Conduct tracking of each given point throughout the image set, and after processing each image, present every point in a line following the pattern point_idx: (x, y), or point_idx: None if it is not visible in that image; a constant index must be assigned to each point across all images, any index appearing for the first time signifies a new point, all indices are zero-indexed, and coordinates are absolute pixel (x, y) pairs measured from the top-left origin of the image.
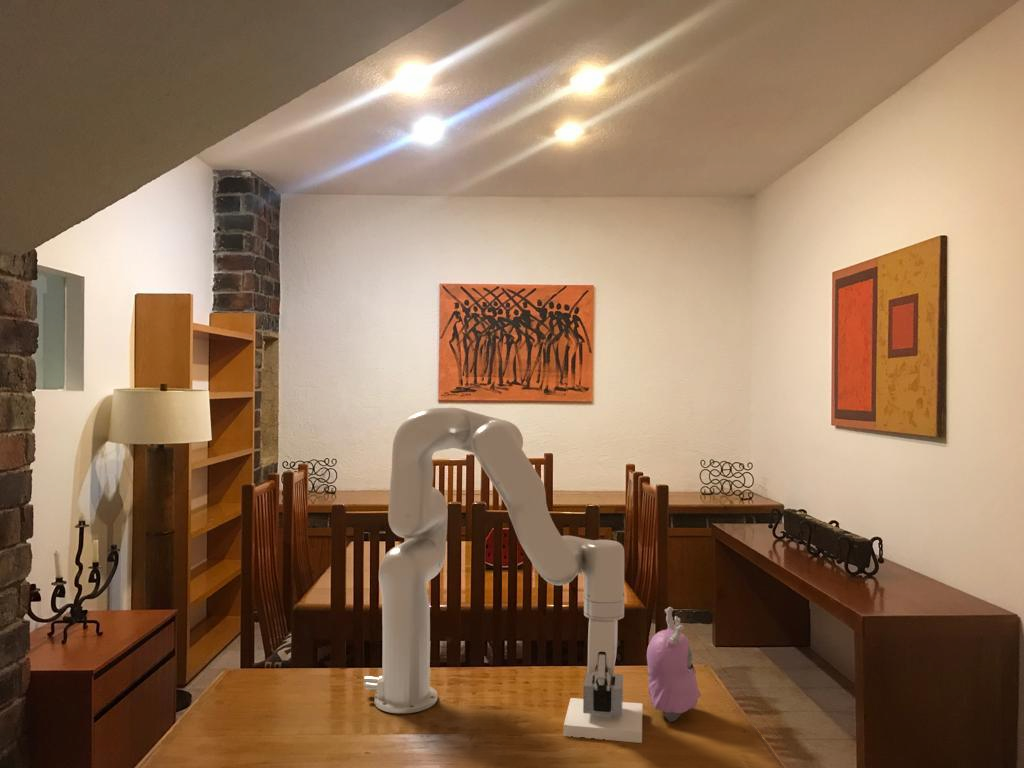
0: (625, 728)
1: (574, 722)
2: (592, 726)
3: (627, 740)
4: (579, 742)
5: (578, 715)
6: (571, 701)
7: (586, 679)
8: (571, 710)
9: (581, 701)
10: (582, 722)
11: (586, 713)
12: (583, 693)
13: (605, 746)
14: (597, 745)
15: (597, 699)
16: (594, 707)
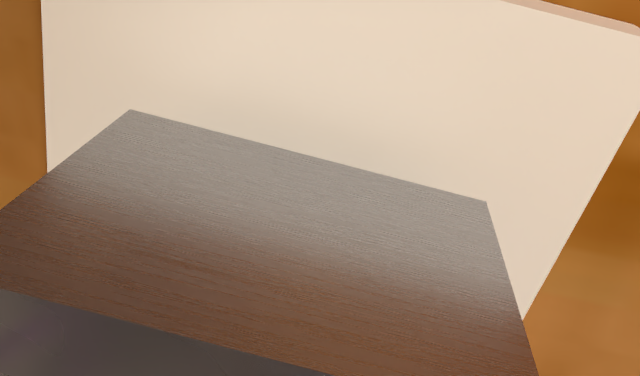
0: None
1: (106, 1)
2: (60, 140)
3: None
4: (20, 6)
5: (250, 62)
6: (578, 42)
7: (198, 360)
8: (363, 10)
9: (551, 140)
10: (117, 74)
11: (293, 137)
12: (7, 204)
13: (8, 165)
14: (9, 121)
15: None
16: None
